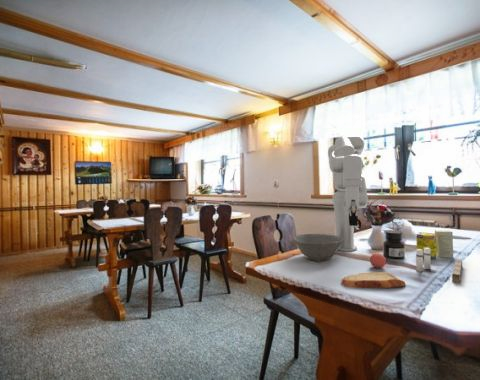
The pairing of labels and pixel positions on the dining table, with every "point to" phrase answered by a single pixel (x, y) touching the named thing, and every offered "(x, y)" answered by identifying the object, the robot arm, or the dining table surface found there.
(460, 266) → the back rail
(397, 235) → the ink bottle
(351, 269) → the dining table surface
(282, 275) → the dining table surface
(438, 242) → the skincare box
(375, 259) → the ball
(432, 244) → the supplement box
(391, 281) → the slice of bread
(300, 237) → the ceramic bowl
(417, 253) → the pin
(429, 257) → the pin
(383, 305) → the dining table surface
